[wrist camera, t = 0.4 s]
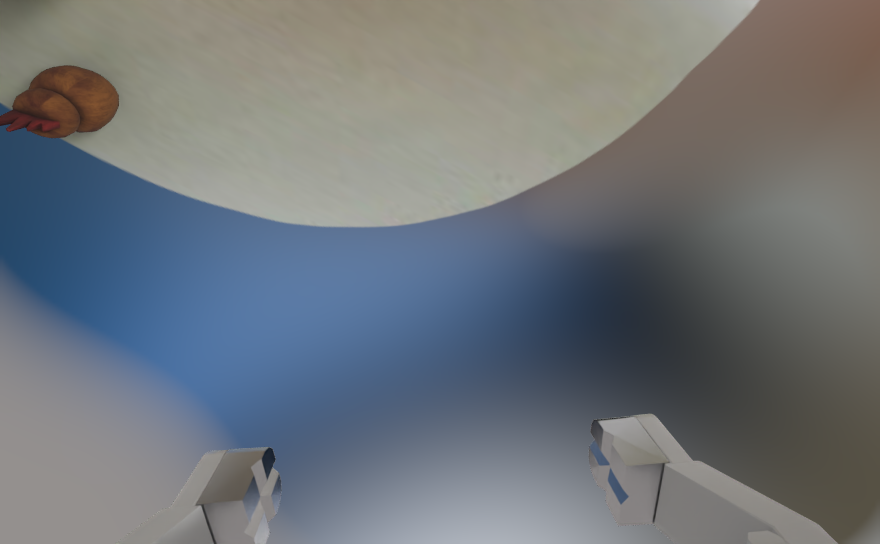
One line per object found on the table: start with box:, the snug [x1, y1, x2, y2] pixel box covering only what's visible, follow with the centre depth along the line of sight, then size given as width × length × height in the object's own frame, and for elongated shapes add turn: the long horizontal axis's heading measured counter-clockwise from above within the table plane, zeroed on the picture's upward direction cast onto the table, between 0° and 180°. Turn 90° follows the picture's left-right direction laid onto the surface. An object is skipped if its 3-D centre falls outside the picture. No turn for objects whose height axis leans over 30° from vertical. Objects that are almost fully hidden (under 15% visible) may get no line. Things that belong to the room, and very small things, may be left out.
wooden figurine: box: [0, 66, 119, 138], centre depth 44 cm, size 7×6×15 cm
